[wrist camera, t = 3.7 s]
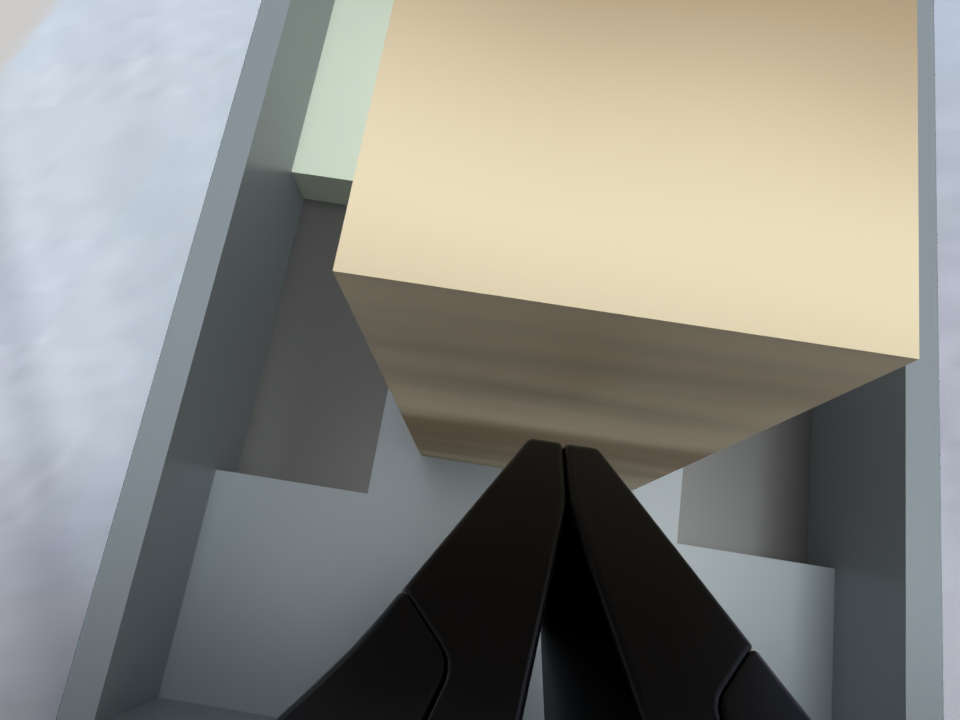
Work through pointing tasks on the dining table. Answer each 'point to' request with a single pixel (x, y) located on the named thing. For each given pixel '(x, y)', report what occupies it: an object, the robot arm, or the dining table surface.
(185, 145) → the dining table surface
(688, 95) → the maple post
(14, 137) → the dining table surface
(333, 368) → the box
